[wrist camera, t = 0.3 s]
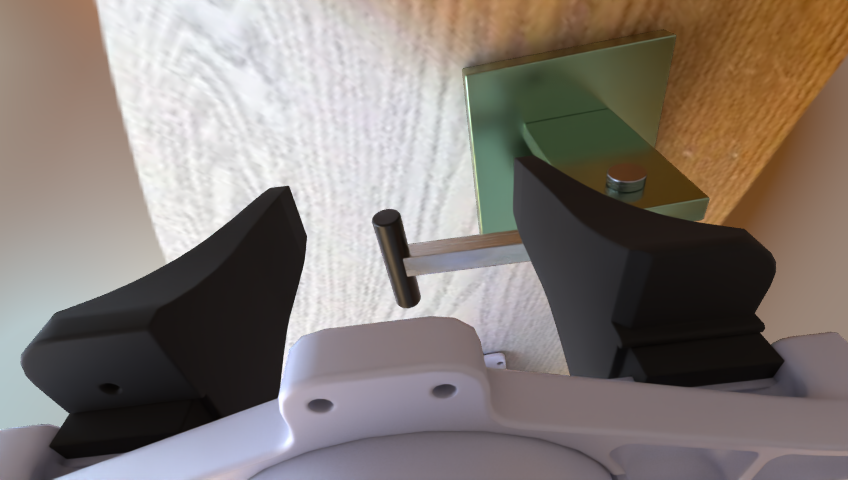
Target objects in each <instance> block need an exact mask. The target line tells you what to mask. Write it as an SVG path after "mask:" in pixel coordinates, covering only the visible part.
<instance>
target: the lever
mask: <svg viewBox="0 0 848 480" xmlns="http://www.w3.org/2000/svg"><path fill="white" fill-rule="evenodd" d="M372 223H373V227H374V230H375V233H376V236H377V240H378V243H379V246H380V249H381V253H382V256H383V259H384V263H385V266H386V269H387V272H388V276H389V279H390V282H391V285H392V289H393V292H394V295H395V298H396V302H397V304H398V305H399V306H400V307H402V308H411V307H414V306H416V305H417V304H418V303H419V301H420V299H421V295H420V291H419V287H418V283H417V279H416V276H417V275H424V274H432V273H440V272H448V271H456V270H464V269H472V268H480V267H488V266H496V265H504V264H512V263H520V262H528V261H531V260H530V258H529V256H528V253H527V251H526V249H525V247H524V245H523V242H522V240H521V238H520V235H519V232H518V229H517V230H510V231H502V232H495V233H487V234H480V235H472V236H465V237H457V238H450V239H443V240H435V241H428V242H420V243H413V244H408V243H407V239H406V235H405V231H404V227H403V223H402V219H401V215H400V213H399V212H398V211H397V210H394V209H386V210H382V211H380V212H378V213H376V214H375V215H374V217H373V219H372Z"/></svg>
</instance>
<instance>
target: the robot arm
mask: <svg viewBox="0 0 848 480" xmlns="http://www.w3.org/2000/svg"><path fill="white" fill-rule="evenodd" d="M513 214H514V218H515V222H516V225H517V229H518V232H519V235H520V238H521V240H522V242H523V245H524V247H525V249H526V251H527V253H528V256H529V258H530V260H531V262H532V264H533V266H534V269H535V271H536V273H537V275H538V277H539V279H540V282H541V284H542V286H543V288H544V291H545V293H546V296H547V299H548V302H549V305H550V308H551V311H552V314H553V317H554V321H555V324H556V327H557V330H558V334H559V337H560V341H561V344H562V347H563V351H564V354H565V358H566V362H567V365H568V369H569V373H570V376H569V375H558V374H548V373H538V372H528V371H518V370H508V369H506V358H505V355H504V354H503V353H494V354H488V355H483V350H482V346H481V342H480V339H479V337H478V335H477V333H476V331H475V329H474V328H473V327H472V326H470V325H468V324H466V323H464V322H462V321H460V320H458V319H456V318H452V317H435V316H429V317H420V318H412V319H404V320H395V321H387V322H378V323H370V324H362V325H353V326H345V327H337V328H328V329H323V330H320V331H317V332H314V333H311V334H308V335H304V336H302V337H300V339H299V340H298V341H297V342H296V343H295V344H294V345H293V346H292V347H291V348H290V349H289V353H288V357H287V361H286V366H285V370H284V374H283V378H282V383H281V387H280V382H281V373H282V364H283V356H284V348H285V341H286V334H287V328H288V323H289V318H290V314H291V311H292V307H293V303H294V300H295V296H296V292H297V289H298V285H299V281H300V277H301V273H302V270H303V266H304V261H305V253H306V242H307V235H306V232H305V230H304V227H303V224H302V221H301V218H300V216H299V213H298V210H297V207H296V204H295V201H294V199H293V196H292V193H291V190H290V187H289V186H283V187H275V188H270V189H268V190H266V191H265V192H264V193H262V194H261V195H260V196H259V197H258V198H256V199H255V200H254V201H253V202H252V203H250V204H249V205H248V206H247V207H246V208H245V209H243V210H242V211H241V212H240V213H239V214H238V215H236V216H235V217H234V218H233V219H232V220H231V221H229V222H228V223H227V224H225V225H224V226H223V227H222V228H220V229H219V230H218V231H216V232H215V233H214V234H213V235H211V236H210V237H209V238H207V239H206V240H205V241H203V242H202V243H200V244H199V245H198V246H196V247H195V248H193V249H192V250H190V251H188V252H187V253H185V254H184V255H182V256H181V257H179V258H177V259H176V260H174V261H172V262H170V263H168V264H167V265H165V266H163V267H161V268H159V269H158V270H156V271H154V272H152V273H150V274H148V275H146V276H145V277H143V278H140V279H138V280H136V281H134V282H132V283H130V284H128V285H126V286H123V287H121V288H118V289H116V290H114V291H112V292H110V293H107V294H104V295H102V296H100V297H97V298H94V299H92V300H89V301H86V302H84V303H81V304H78V305H76V306H73V307H70V308H68V309H65V310H62V311H59V312H56V313H55V314H54V315H53V316H52V317H51V319H50V320H49V321H48V322H47V324H46V325H45V326H44V327H43V328H42V330H41V331H40V332H39V333H38V335H37V336H36V337H35V338H34V339H33V341H32V342H31V343H30V344H29V345H28V347H27V348H26V349H25V350H24V352H23V353H22V354H21V366H22V368H23V370H24V372H25V374H26V376H27V377H28V378H29V379H30V381H32V383H33V384H34V385H36V386H37V387H38V388H39V389H40V390H41V391H43V392H44V393H45V394H46V395H47V396H49V397H50V398H51V399H52V400H53V401H55V402H56V403H57V404H58V405H60V406H61V407H62V408H63V409H64V410H66V411H67V412H68V413H70V414H69V416H68V417H67V419H66V420H65V422H64V423H63V425H62V426H61V427H59V426H54V425H50V424H41V425H32V426H23V427H14V428H6V429H1V430H0V480H848V342H847V341H846V340H845V339H844V338H842V337H841V336H840V335H839V334H838V333H836V332H827V333H818V334H809V335H801V336H792V337H787V338H783V339H780V340H778V341H776V342H774V343H772V344H771V345H770V344H769V343H768V341H767V340H766V339H765V338H764V337H763V336H762V335H761V333H760V332H763V331H764V329H765V325H764V323H763V322H762V321H761V320H760V319H759V318H758V317H757V316H756V314H755V312H756V310H757V308H758V306H759V305H760V303H761V301H762V299H763V298H764V296H765V294H766V293H767V291H768V289H769V287H770V285H771V283H772V281H773V278H774V275H775V273H776V261H775V259H774V257H773V256H772V254H771V252H770V251H768V250H767V249H766V248H765V247H764V246H763V245H762V244H761V243H759V242H758V241H757V240H756V239H755V238H754V237H753V236H752V235H751V234H749V233H748V232H747V231H746V230H745V229H741V228H734V227H733V228H732V227H726V226H719V225H712V224H705V223H699V222H694V221H689V220H684V219H680V218H675V217H671V216H667V215H663V214H659V213H655V212H652V211H649V210H645V209H642V208H639V207H636V206H633V205H630V204H627V203H624V202H622V201H619V200H617V199H614V198H612V197H609V196H607V195H605V194H602V193H600V192H598V191H596V190H594V189H592V188H590V187H588V186H586V185H584V184H582V183H581V182H579V181H577V180H575V179H573V178H572V177H570V176H568V175H566V174H565V173H563V172H561V171H560V170H558V169H557V168H555V167H553V166H552V165H550V164H548V163H547V162H545V161H544V160H542V159H540V158H538V157H536V156H534V155H531V156H523V157H515V158H514V185H513Z"/></svg>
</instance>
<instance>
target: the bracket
mask: <svg viewBox="0 0 848 480" xmlns="http://www.w3.org/2000/svg"><path fill="white" fill-rule="evenodd" d="M675 41H676V34H674V33H671V32H669V31H667V30H664V29H663V30H658V31H652V32H647V33H642V34H637V35H632V36H627V37H622V38H616V39H611V40H606V41H601V42H596V43H591V44H586V45H580V46H575V47H570V48H565V49H560V50H555V51H549V52H544V53H539V54H534V55H529V56H524V57H519V58H513V59H508V60H503V61H498V62H493V63H488V64H483V65H477V66H472V67H467V68H463V69H462V76H463V85H464V94H465V103H466V113H467V122H468V131H469V140H470V150H471V159H472V168H473V177H474V187H475V196H476V205H477V214H478V224H479V233H480V234H487V233H495V232H502V231H510V230H517V225H516V222H515V218H514V214H513V185H514V158H515V157H523V156H531V155H534V156H536V157H538V158H540V159H542V160H544V161H545V162H547V163H548V164H550V165H552V166H553V167H555V168H557V169H558V170H560V171H561V172H563V173H565V174H566V175H568V176H570V177H572V178H573V179H575V180H577V181H579V182H581V183H582V184H584V185H586V186H588V187H590V188H592V189H594V190H596V191H598V192H600V193H602V194H605V195H607V196H609V197H612V198H614V199H617V200H619V201H622V202H624V203H627V204H630V205H633V206H636V207H639V208H642V209H645V210H649V211H652V212H655V213H659V214H663V215H667V216H671V217H675V218H680V219H684V220H689V221H699V220H702V219H704V216H705V212H706V209H707V206H708V203H709V197H708V196H707V195H706V194H705V193H704V192H702V191H701V190H700V189H699V188H698V187H697V186H696V185H695V184H694V183H692V182H691V181H690V180H689V179H688V178H687V177H686V176H685V175H683V174H682V173H681V172H680V171H679V170H678V169H677V168H676V167H674V166H673V165H672V164H671V163H670V162H669V161H668V160H667V159H666V158H664V157H663V156H662V155H661V154H660V153H659V152H658V151H657V150H655V144H656V139H657V134H658V129H659V123H660V118H661V113H662V108H663V103H664V98H665V93H666V87H667V82H668V77H669V72H670V67H671V62H672V56H673V51H674V46H675Z"/></svg>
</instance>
